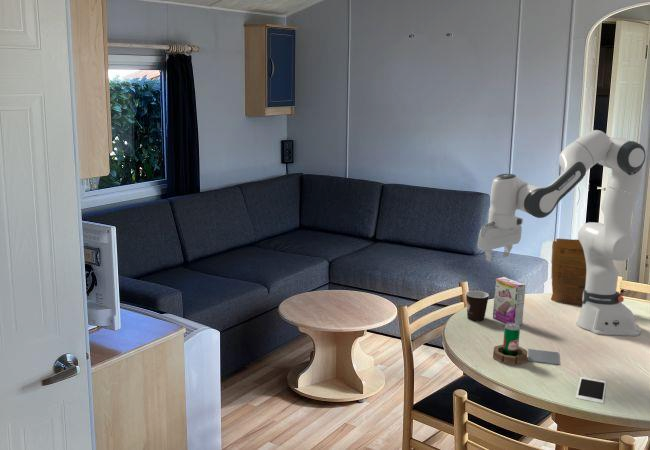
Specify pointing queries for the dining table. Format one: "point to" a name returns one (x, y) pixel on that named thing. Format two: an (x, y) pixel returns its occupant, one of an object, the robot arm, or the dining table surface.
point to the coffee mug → (476, 305)
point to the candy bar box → (508, 301)
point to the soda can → (511, 339)
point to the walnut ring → (510, 359)
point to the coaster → (543, 356)
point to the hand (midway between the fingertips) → (497, 258)
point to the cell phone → (591, 390)
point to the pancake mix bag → (568, 271)
